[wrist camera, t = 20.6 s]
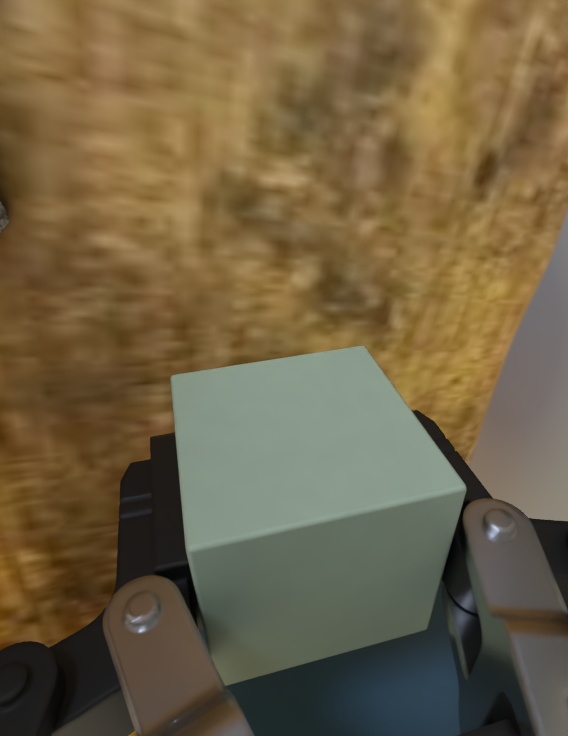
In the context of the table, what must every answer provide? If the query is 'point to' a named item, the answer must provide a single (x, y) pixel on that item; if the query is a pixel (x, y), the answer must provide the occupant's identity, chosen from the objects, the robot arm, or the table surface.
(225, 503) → the block
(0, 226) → the grey cloth
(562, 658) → the robot arm
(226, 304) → the table surface
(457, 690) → the shelf
